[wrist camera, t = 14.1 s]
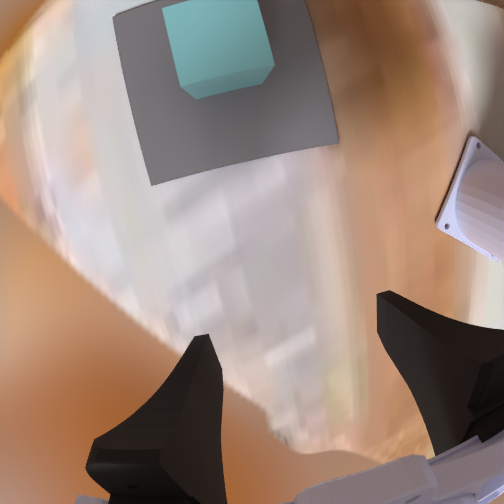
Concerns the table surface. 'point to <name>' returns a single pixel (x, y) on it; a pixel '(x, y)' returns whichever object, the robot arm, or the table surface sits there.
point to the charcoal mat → (224, 96)
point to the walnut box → (494, 2)
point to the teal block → (218, 45)
